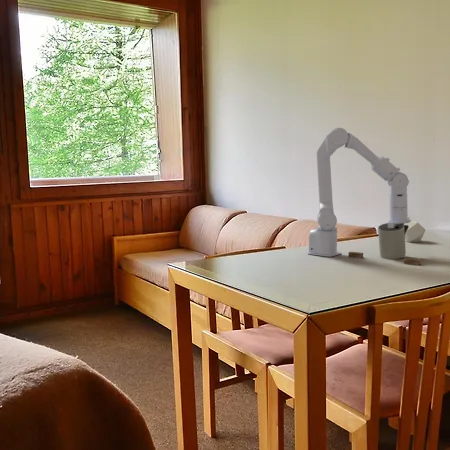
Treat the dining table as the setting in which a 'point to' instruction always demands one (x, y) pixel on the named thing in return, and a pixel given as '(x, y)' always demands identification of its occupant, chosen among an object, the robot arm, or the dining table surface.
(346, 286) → the dining table surface
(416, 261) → the pair of brown blocks
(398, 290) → the dining table surface
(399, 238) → the grey cylinder
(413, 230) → the die
